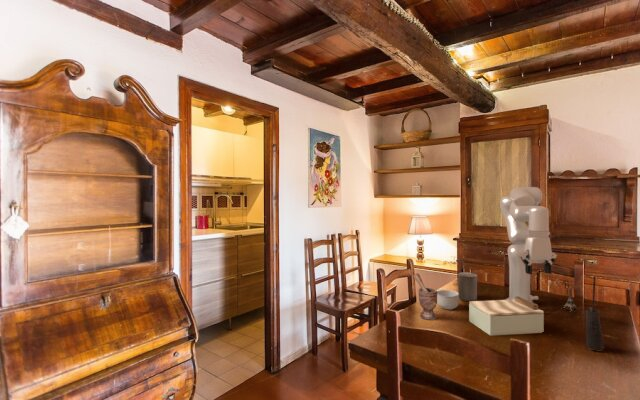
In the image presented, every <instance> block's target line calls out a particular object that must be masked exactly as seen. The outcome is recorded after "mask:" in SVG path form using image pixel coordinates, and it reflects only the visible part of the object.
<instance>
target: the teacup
mask: <svg viewBox="0 0 640 400" xmlns="http://www.w3.org/2000/svg"><path fill="white" fill-rule="evenodd" d="M459 301H460V299H459V293H458V291H455V290H453V289H452V290H451V289H443V288H442V289H438V290H437V305H438V306H439V307H440V308H441V309H444V310H448V311H449V310H454V309H456V308H457V307H458V306H459Z"/></svg>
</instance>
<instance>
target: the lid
mask: <svg viewBox="0 0 640 400" xmlns="http://www.w3.org/2000/svg"><path fill="white" fill-rule="evenodd" d="M532 302H533V301H532ZM532 302H530V301H528V300H525V299H523V298H521V297H515V299H514V300H506V299H496V300H495V299H493V300H476V301H468V303H469V304H471V305H473V306H475V307H477V308H478V309H480V310H482V311H483V312H485V313H487V314H488V315H490V316H496V315H516V314H537V313H543V314H544V313H545V312H544V311H545V310H542V309H540V308H539V305H538V304H537V303H535V302H533V303H532Z"/></svg>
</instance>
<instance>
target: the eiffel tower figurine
mask: <svg viewBox="0 0 640 400" xmlns="http://www.w3.org/2000/svg"><path fill="white" fill-rule="evenodd" d="M569 285H570V286H569V294H568V298H567V301H566V303H565V304H564V305H563V306H564V307H563V308H565V307H566V306H568V307H570V310H571V311H573V310H572V308H573V307H574V308H573V309H577V310H579V308H577V307H578V306H576V304H575V303H574V300H573V294H572V286H571V283H570V284H569ZM571 311H570V312H571Z"/></svg>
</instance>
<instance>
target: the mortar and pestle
mask: <svg viewBox="0 0 640 400" xmlns="http://www.w3.org/2000/svg"><path fill="white" fill-rule="evenodd" d="M413 277H414V280H415V281H416V282H417V284H418V286H419V287H420V288H418V301H419V302H418V303H419V305H420V307H422V311H421V312H420V318H421V319H424V320H430V321H434V320H436V319H437V315H436V313H435V312H434V309H436V306H437V305H438V303H437V291H438V290H437V289H435V288H432V287H426V286H425V284H424V282H423V279H422V278H421V276H420V274H419V273H415V274H413Z"/></svg>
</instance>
